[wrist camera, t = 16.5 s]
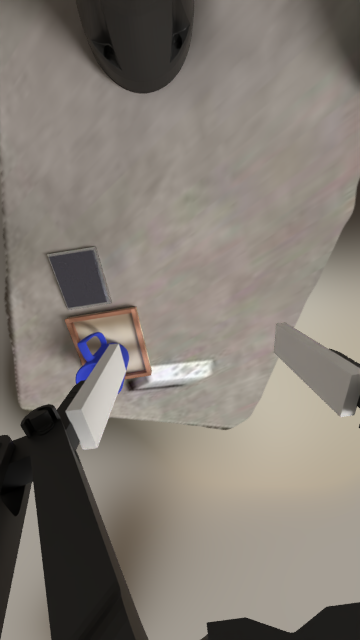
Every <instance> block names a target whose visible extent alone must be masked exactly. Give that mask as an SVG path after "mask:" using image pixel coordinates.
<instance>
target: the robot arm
mask: <svg viewBox="0 0 360 640" xmlns="http://www.w3.org/2000/svg"><path fill="white" fill-rule="evenodd" d="M76 4H77V8H78V12H79V16H80V19H81V23H82V26H83V28H84V31H85V34H86V36H87V39H88V42H89V44H90V47H91V49H92V51H93V53H94V55H95V57H96V59H97V61H98V62H99V64H100V65H101V67H102V68H103V70H104V71H105V72H106V73H107V74H108V76H109V77H110V78H111V79H113V80H114V81H115V82H116V83H117V84H119V85H120V86H122V87H124V88H126V89H128V90H130V91H133V92H138V93H149V92H154V91H157V90H159V89H161V88H163V87H164V86H166V85H167V84H168V83H170V82H171V81H172V80H173V79H174V77H175V76H176V75H177V74H178V72H179V71H180V69H181V67H182V65H183V63H184V61H185V59H186V56H187V53H188V50H189V46H190V41H191V35H192V26H193V15H194V0H76ZM274 353H275V354H276V355H277V356H278V357H279V358H280V359H281V360H282V361H283V362H284V363H285V364H286V365H287V366H288V367H289V368H290V369H291V370H293V372H295V373H296V374H297V375H298V376H299V377H300V378H301V379H302V380H303V381H304V382H305V383H306V384H307V385H308V386H309V387H310V388H311V389H312V390H313V391H314V392H315V393H316V394H317V395H318V396H319V397H320V398H321V399H322V400H324V402H326V404H328V405H329V407H331V408H332V409H333V410H334V411H335V412H336V413H337V414H338V415H339V416H340V417H343V416H351V415H354V414H355V411H356V408H357V406H358V407H359V408H360V364H359V363H357V362H355V361H354V360H352V359H350V358H348V357H347V356H345V355H344V354H342V353H340V352H338V351H335V350H332V349H328V348H326V347H324V346H323V345H321V344H320V343H318V342H316V341H314V340H313V339H311V338H310V337H308V336H306V335H305V334H303V333H302V332H300V331H298V330H297V329H295V328H293V327H292V326H290V325H289V324H287V323H277V324H276V331H275V343H274ZM125 373H126V368H125V365H124V361H123V357H122V353H121V350H120V346H119V343H118V344H110V345H109V346H108V348H107V349H106V351H105V352H104V354H103V355H102V357H101V358H100V360H99V361H98V363H97V364H96V366H95V367H94V369H93V370H92V372H91V373H90V375H89V376H88V378H87V379H86V380H82V381H80V382H79V383H77V384H76V385H75V386H74V387H73V388H72V390H71V391H70V392H69V394H68V395H67V397H66V399H64V401H63V402H62V404H61V405H60V406H59V408H58V409H57V410H56V408H55V407H54V406H53V405H50V404H48V405H43V406H41V407H38V408H36V409H35V410H33V411H31V412H30V413H29V414H28V415H27V416H25V418H24V419H23V420H22V422H21V427H22V429H23V430H24V432H25V434H26V435H27V436H24V437H22V438H19V439H16V440H14V441H12V440H11V438H10V437H9V436H8V435H2V436H0V638H1V633H2V628H3V623H4V618H5V613H6V608H7V603H8V598H9V593H10V588H11V583H12V578H13V573H14V568H15V563H16V558H17V554H18V548H19V544H20V539H21V533H22V528H23V524H24V518H25V514H26V509H27V504H28V499H29V494H30V489H31V483H32V482H33V483H34V492H35V501H36V508H37V517H38V527H39V535H40V544H41V553H42V561H43V570H44V578H45V587H46V596H47V604H48V612H49V622H50V630H51V639H52V640H148V637H147V635H146V633H145V630H144V628H143V626H142V623H141V621H140V618H139V616H138V613H137V610H136V608H135V605H134V602H133V600H132V597H131V594H130V592H129V589H128V586H127V584H126V581H125V578H124V576H123V573H122V570H121V568H120V565H119V563H118V560H117V557H116V554H115V552H114V549H113V546H112V544H111V541H110V539H109V536H108V533H107V531H106V528H105V525H104V523H103V520H102V518H101V515H100V512H99V509H98V507H97V504H96V501H95V499H94V496H93V493H92V491H91V488H90V485H89V483H88V480H87V478H86V475H85V472H84V470H83V467H82V464H81V462H80V459H79V456H78V454H77V452H76V449H77V447H78V445H79V443H80V444H81V446H82V449H83V450H85V449H92V448H97V447H98V444H99V442H100V439H101V437H102V434H103V431H104V429H105V426H106V423H107V421H108V418H109V415H110V413H111V410H112V407H113V405H114V402H115V399H116V397H117V394H118V391H119V389H120V386H121V383H122V381H123V378H124V375H125ZM359 428H360V425H359ZM207 630H208V634H207V635H206V636H205V637H204V638H202V639H201V640H360V602H359V603H351V604H344V605H338V606H337V605H336V606H329V607H326V608H324V609H323V610H322V611H321V612H320V613H318V614H317V615H316V616H315V617H313V618H312V619H311V620H310V621H308V622H307V623H306V624H305V625H303V626H302V627H301V628H300V629H299V630H297V631H296V632H294V633H289V632H286V631H283V630H280V629H277V628H274V627H272V626H268V625H266V624H263V623H260V622H257V621H254V620H251V619H248V618H239V619H231V620H223V621H216V622H208V623H207Z"/></svg>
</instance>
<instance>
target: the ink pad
mask: <svg viewBox="0 0 360 640" xmlns="http://www.w3.org/2000/svg"><path fill="white" fill-rule="evenodd" d="M47 256H48V258H49V261H50V264H51V266H52V269H53V271H54V274H55V277H56V279H57V282H58V285H59V287H60V290H61V293H62V295H63V298H64V300H65V303H66V306H67V308H68V310H72V309H78V308H84V307H91V306H97V305H103V304H110V303H112V301H111V297H110V294H109V290H108V287H107V283H106V280H105V276H104V273H103V269H102V266H101V262H100V259H99V255H98V252H97V248H96V247H90V248H84V249H78V250H72V251H65V252H59V253H53V254H47Z"/></svg>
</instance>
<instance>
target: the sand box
mask: <svg viewBox="0 0 360 640" xmlns="http://www.w3.org/2000/svg"><path fill="white" fill-rule="evenodd" d="M65 322H66V324H67V327H68V330H69V332H70V335H71V337H72V340H73V342H74V345H75V347H76V350H77V352H78V355H79V357H80V360H81V363H82V365H84V364H85V363H86V362H87V361H86V360H85V358H84V357H83V355H82V354H81V352H80V350H79V348H78V346H77V344H78V342H80V341H81V340H82V339H84V338H85V337H87V336H88V335H90V334H92V333H95V332H100V333H102V334H103V335H104V336H105V338H106V341H107V344H108V343H119V344H121V345H122V346H124V347H125V348H126V349H127V351H128V353H129V362H128V366H127V370H126V374H125V378H124V379H130V378H136V377H143V376H149V375H151V372H152V370H151V366H150V362H149V357H148V353H147V349H146V345H145V341H144V337H143V333H142V328H141V324H140V320H139V316H138V312H137V308H136V307H130V308H123V309H117V310H111V311H104V312H98V313H92V314H86V315H79V316H73V317H69V318H67V319H65ZM86 344H87V346H88V348H89V350H90V352H91V354H92V355H94V354H95V353H96V352H97V351H98V349H99V348H100V347H101V342H100V340H99V338H98V337H97V336H94V337H92V338H91V339H90V340H89V341H87V342H86Z"/></svg>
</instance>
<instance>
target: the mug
mask: <svg viewBox="0 0 360 640" xmlns="http://www.w3.org/2000/svg"><path fill="white" fill-rule="evenodd" d="M94 336H97V337H98V338H99V340H100V342H101V347H100V348H99V349H98V351H97V352H96V353H95V354H94V355H92V354H91V352H90V350H89V348H88V346H87V344H86V342H87V341H89V340H90V339H91V338H92V337H94ZM110 344H118V343H108V344H107V341H106V338H105V336H104V335H103V334H102V333H100V332H95V333H92V334H90V335H88V336H87V337H85V338H84V339H82V340H81V341H80V342H78V344H77V346H78V348H79V350H80V352H81V354H82V355H83V357H84V358H85V360H86V361H87V362H86V363H85V364H84V365H83V366H82V367H81V368H80V369H79V371H78V372H77V374H76V384H77V383H79V382H80V381H82V380H86V379H87V378H88V376H89V375H90V373H91V372H92V370H93V369H94V367H95V366H96V364H97V363H98V361H99V360H100V358H101V357H102V355H103V354H104V352H105V351H106V349H107V348H108V346H109V345H110ZM119 346H120V350H121V353H122V357H123V361H124V365H125V368H126V370H127V366H128V362H129V353H128V351H127V349H126V348H125V347H124V346H122V345H121V344H119ZM125 374H126V373H125ZM124 378H125V375H124ZM124 378H123V381H122V383H121V386H120V389H119V391H118V394H119V392H120V391H121V389H122V386H123V382H124Z"/></svg>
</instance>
